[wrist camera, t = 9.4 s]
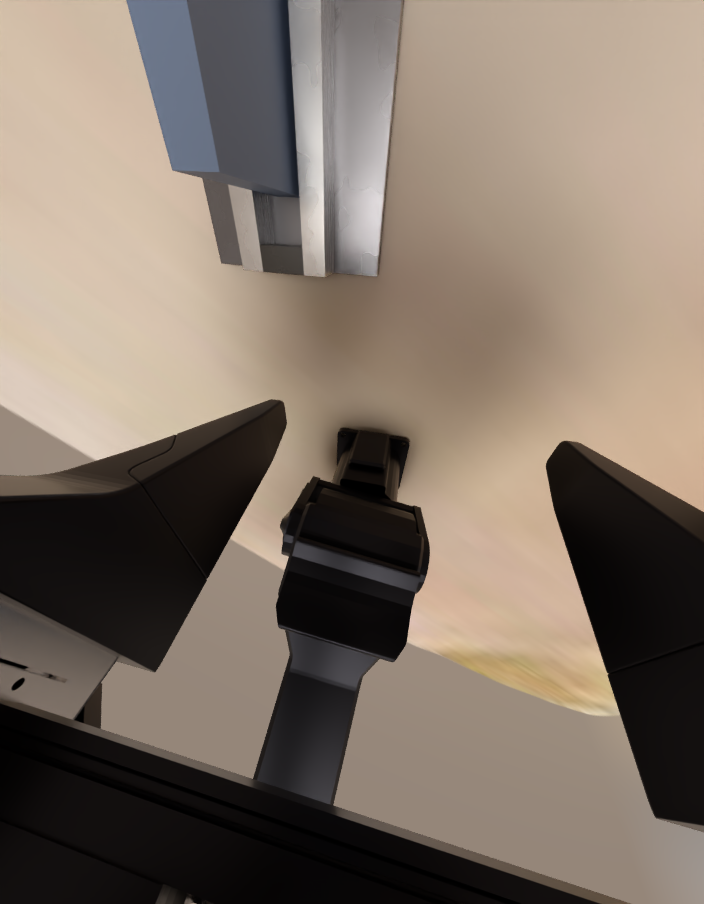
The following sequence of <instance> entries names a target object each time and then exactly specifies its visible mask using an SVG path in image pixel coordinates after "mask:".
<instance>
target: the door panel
mask: <svg viewBox="0 0 704 904" xmlns="http://www.w3.org/2000/svg"><path fill="white" fill-rule="evenodd" d="M126 1H127V4H128V8H129V12H130V15H131V19H132V23H133V27H134V30H135V34H136V38H137V41H138V45H139V49H140V52H141V56H142V60H143V63H144V67H145V71H146V75H147V78H148V82H149V86H150V89H151V93H152V97H153V100H154V104H155V108H156V111H157V115H158V119H159V123H160V126H161V130H162V134H163V137H164V141H165V145H166V148H167V152H168V156H169V159H170V163H171V167H172V170H173V171H177V172H181V173H185V174H189V175H193V176H197V177H201V178H205V179H209V180H213V181H217V182H221V183H225V184H229V185H233V186H237V187H241V188H245V189H249V190H253V191H257V192H261V193H265V194H269V195H273V196H276V197H294V198H299V182H298V165H297V147H296V130H295V113H294V96H293V79H292V62H291V45H290V28H289V10H288V0H126Z"/></svg>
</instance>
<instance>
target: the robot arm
mask: <svg viewBox="0 0 704 904" xmlns="http://www.w3.org/2000/svg"><path fill="white" fill-rule="evenodd" d="M286 425H287V420H286V413H285V406H284V403H283V402H282V401H280V400H273V399H271V400H268V401H265V402H263V403H260V404H257V405H254V406H252V407H249V408H246V409H244V410H241V411H238V412H235V413H233V414H230V415H227V416H224V417H222V418H219V419H216V420H214V421H211V422H208V423H205V424H203V425H200V426H197V427H194V428H192V429H189V430H186V431H184V432H181V433H178V434H177V435H173V436H170V437H167V438H164V439H162V440H159V441H156V442H153V443H150V444H147V445H145V446H141V447H138V448H135V449H132V450H129V451H126V452H123V453H120V454H116V455H113V456H110V457H107V458H104V459H100V460H97V461H94V462H91V463H88V464H84V465H81V466H78V467H75V468H71V469H68V470H64V471H61V472H56V473H51V474H44V475H35V476H11V475H0V904H190V903H196V904H630V903H627V902H624V901H621V900H618V899H615V898H612V897H609V896H606V895H603V894H600V893H597V892H594V891H591V890H588V889H585V888H582V887H579V886H576V885H573V884H570V883H567V882H563V881H561V880H557V879H554V878H551V877H548V876H545V875H542V874H539V873H536V872H533V871H530V870H527V869H524V868H521V867H518V866H515V865H512V864H509V863H506V862H503V861H499V860H497V859H494V858H490V857H488V856H485V855H482V854H479V853H476V852H473V851H469V850H466V849H463V848H460V847H457V846H454V845H451V844H448V843H445V842H442V841H439V840H436V839H433V838H430V837H427V836H424V835H421V834H418V833H415V832H412V831H409V830H406V829H402V828H400V827H397V826H393V825H390V824H388V823H384V822H381V821H378V820H375V819H372V818H369V817H366V816H363V815H360V814H357V813H354V812H351V811H348V810H345V809H342V808H339V807H336V806H333V804H334V799H335V795H336V790H337V786H338V781H339V777H340V773H341V769H342V764H343V760H344V755H345V751H346V747H347V741H348V738H349V733H350V729H351V725H352V720H353V716H354V711H355V707H356V702H357V698H358V693H359V689H360V685H361V682H362V678H363V676H364V675H365V674H366V672H368V670H369V669H370V668H371V667H372V666H373V665H374V664H375V663H376V662H377V661H378V660H379V659H383V660H386V661H390V662H394V661H395V660H396V659H397V657H398V656H399V654H400V653H401V651H402V650H403V648H404V647H405V645H406V642H407V636H408V629H409V622H410V615H411V609H412V605H413V600H414V596H415V594H416V593H418V592H419V591H420V589H421V588H422V586H423V583H424V581H425V578H426V574H427V570H428V565H429V556H430V547H429V541H428V537H427V533H426V528H425V524H424V520H423V516H422V512H421V508H420V507H417V506H409V505H406V504H402V503H399V502H397V494H398V489H399V486H400V482H401V478H402V474H403V470H404V466H405V462H406V458H407V454H408V450H409V444H410V441H409V440H408V439H407V438H403V437H397V436H390V435H386V434H380V433H374V432H367V431H358V430H352V429H345V428H342V429H340V430H339V432H338V445H337V469H336V472H335V475H334V478H333V480H332V483H331V482H327V481H324V480H320V478H318V477H315V476H313V478H312V479H311V481H310V483H307V485H306V486H305V488H304V489H303V490H302V492H301V494H300V496H299V498H298V500H297V501H296V503H295V505H294V506H293V508H292V509H291V510H290V511H289V513H288V514H287V515H286V516H285V517H284V518H283V519H282V521H281V524H280V528H281V530H282V532H283V545H282V554H283V555H286V556H289V558H288V562H287V565H286V568H285V572H284V575H283V578H282V581H281V585H280V588H279V593H278V595H279V597H278V600H277V603H276V611H277V622H278V627H279V628H281V629H284V630H285V632H286V636H287V641H288V646H289V651H290V656H289V659H288V663H287V667H286V670H285V673H284V677H283V680H282V683H281V687H280V690H279V693H278V697H277V700H276V703H275V707H274V710H273V714H272V717H271V720H270V723H269V727H268V730H267V734H266V737H265V740H264V744H263V747H262V751H261V754H260V757H259V761H258V764H257V767H256V771H255V774H254V778H253V779H251V778H248V777H245V776H242V775H239V774H236V773H232V772H230V771H226V770H224V769H221V768H217V767H214V766H211V765H208V764H205V763H202V762H199V761H196V760H193V759H190V758H187V757H184V756H181V755H178V754H175V753H172V752H169V751H166V750H163V749H160V748H156V747H154V746H151V745H148V744H145V743H141V742H139V741H135V740H133V739H130V738H127V737H123V736H120V735H117V734H114V733H111V732H108V731H105V730H102V729H101V699H102V684H101V682H102V680H103V679H104V678H105V676H106V675H107V673H108V672H109V671H110V669H111V668H112V666H113V665H114V664H115V662H116V661H117V662H121V663H124V664H127V665H131V666H134V667H138V668H141V669H145V670H148V671H152V672H156V670H157V669H158V667H159V666H160V664H161V662H162V661H163V659H164V657H165V655H166V653H167V652H168V650H169V648H170V646H171V644H172V642H173V640H174V639H175V637H176V635H177V633H178V632H179V630H180V628H181V626H182V624H183V623H184V621H185V619H186V617H187V615H188V614H189V612H190V610H191V608H192V606H193V604H194V602H195V601H196V599H197V597H198V595H199V594H200V592H201V590H202V588H203V586H204V585H205V583H206V581H207V578H208V577H209V575H210V573H211V571H212V570H213V568H214V566H215V564H216V562H217V561H218V559H219V557H220V555H221V553H222V551H223V550H224V548H225V546H226V544H227V542H228V540H229V539H230V537H231V535H232V533H233V532H234V530H235V528H236V526H237V524H238V523H239V521H240V519H241V517H242V515H243V514H244V512H245V510H246V508H247V506H248V504H249V503H250V501H251V499H252V497H253V495H254V494H255V492H256V490H257V488H258V486H259V485H260V483H261V481H262V479H263V477H264V476H265V474H266V472H267V470H268V468H269V466H270V465H271V463H272V461H273V458H274V456H275V454H276V451H277V449H278V446H279V444H280V441H281V439H282V436H283V434H284V431H285V429H286ZM342 433H344V434H345V435H343V434H342ZM402 443H406V444H402ZM546 470H547V476H548V481H549V486H550V492H551V497H552V502H553V507H554V511H555V514H556V517H557V520H558V524H559V527H560V530H561V533H562V536H563V539H564V542H565V545H566V548H567V551H568V554H569V557H570V560H571V564H572V567H573V570H574V573H575V576H576V579H577V582H578V585H579V588H580V591H581V594H582V597H583V601H584V604H585V607H586V610H587V613H588V616H589V619H590V622H591V625H592V628H593V631H594V634H595V637H596V641H597V644H598V647H599V650H600V653H601V656H602V659H603V662H604V665H605V668H606V671H607V673H608V678H609V681H610V684H611V687H612V691H613V694H614V697H615V700H616V703H617V706H618V709H619V712H620V715H621V718H622V721H623V724H624V728H625V730H626V733H627V737H628V740H629V743H630V746H631V749H632V752H633V755H634V758H635V762H636V765H637V768H638V771H639V774H640V777H641V780H642V783H643V786H644V789H645V792H646V795H647V799H648V801H649V804H650V807H651V809H652V811H653V814H654V816H655V817H656V818H657V819H660V820H664V821H667V822H670V823H674V824H677V825H681V826H684V827H688V828H691V829H695V830H698V831H701V832H704V512H702V511H701V510H699V509H697V508H695V507H694V506H692V505H690V504H688V503H686V502H685V501H683V500H681V499H679V498H677V497H676V496H674V495H672V494H670V493H668V492H667V491H665V490H663V489H661V488H660V487H658V486H656V485H654V484H652V483H651V482H649V481H647V480H645V479H643V478H642V477H640V476H638V475H636V474H634V473H633V472H631V471H629V470H627V469H626V468H624V467H622V466H620V465H618V464H617V463H615V462H613V461H611V460H609V459H608V458H606V457H604V456H602V455H600V454H599V453H597V452H595V451H593V450H592V449H590V448H588V447H586V446H584V445H583V444H581V443H578V442H572V441H562V442H561V443H559V445H558V446H557V447H556V449H555V450H554V452H553V453H552V455H551V456H550V457H549V459H548V461H547V463H546Z"/></svg>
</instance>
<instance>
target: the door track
mask: <svg viewBox="0 0 704 904" xmlns="http://www.w3.org/2000/svg"><path fill="white" fill-rule="evenodd" d="M403 3H404V0H288V10H289V28H290V45H291V62H292V79H293V96H294V113H295V130H296V147H297V165H298V182H299V198H294V197H276V196H273V195H269V194H265V193H261V192H257V191H253V190H249V189H245V188H241V187H237V186H233V185H229V184H225V183H221V182H217V181H213V180H209V179H205V178H202V179H203V183H204V188H205V192H206V196H207V201H208V205H209V210H210V214H211V219H212V223H213V228H214V232H215V237H216V241H217V246H218V250H219V255H220V259H221V263H223V264H235V265H243V270H249V271H261V272H272V273H284V274H295V275H307V276H318V277H326V276H328V275H330V274H333V273H342V274H353V275H365V276H377V275H378V270H379V259H380V248H381V238H382V227H383V216H384V206H385V195H386V184H387V174H388V163H389V152H390V142H391V131H392V120H393V110H394V99H395V88H396V78H397V67H398V56H399V46H400V35H401V24H402V14H403Z"/></svg>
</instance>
